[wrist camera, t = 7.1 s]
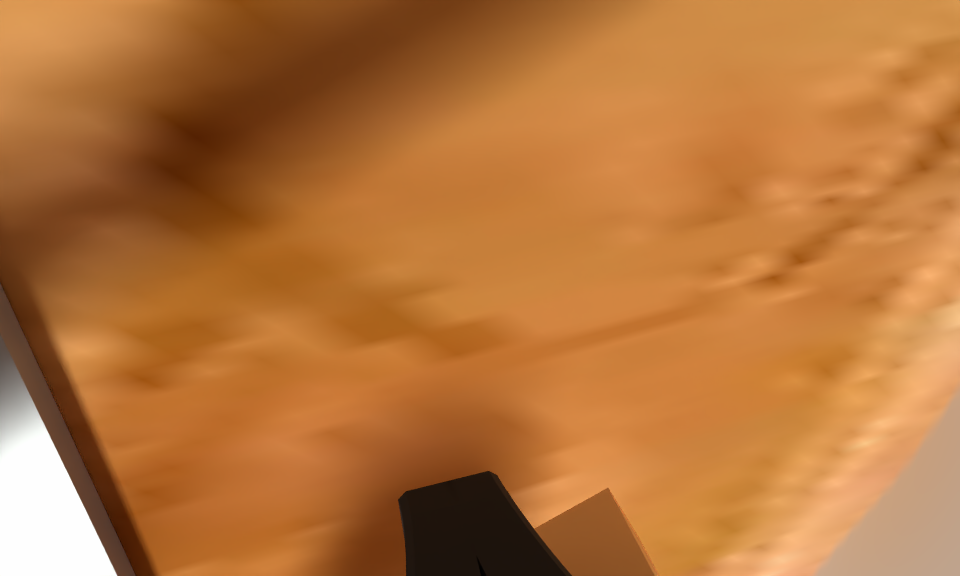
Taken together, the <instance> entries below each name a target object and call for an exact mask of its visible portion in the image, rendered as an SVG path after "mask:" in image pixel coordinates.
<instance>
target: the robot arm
mask: <svg viewBox="0 0 960 576" xmlns="http://www.w3.org/2000/svg"><path fill="white" fill-rule="evenodd" d="M398 502H399V508H400V514H401V520H402V526H403V532H404V538H405V548H406V576H572V575H571V574H570V573H569V571H568V570H567V569H566V568H565V567H564V566H563V565H562V563H561V562H560V561H559V560H558V558H557V557H556V556H555V555H554V554H553V552H552V551H551V550H550V549H549V547H548V546H547V545H546V544H545V542H544V541H543V540H542V538H541V537H540V536H539V535H538V533H537V532H536V531H535V530H534V528H533V527H532V526H531V524H530V523H529V522H528V520H527V519H526V518H525V516H524V515H523V514H522V512H521V511H520V509H519V508H518V507H517V505H516V504H515V502H514V501H513V499H512V498H511V496H510V495H509V493H508V492H507V490H506V489H505V487H504V486H503V484H502V483H501V481H500V479H499V478H498V476H497V475H495V474H494V473H492V472H490V471H487V472H483V473H479V474H475V475H471V476H466V477H462V478H458V479H454V480H450V481H446V482H442V483H438V484H434V485H430V486H426V487H422V488H418V489H414V490H410V491H406V492H405V493H404V494H403V495H402V496H401V497H400V498H399V499H398Z"/></svg>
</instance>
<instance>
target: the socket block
mask: <svg viewBox="0 0 960 576" xmlns="http://www.w3.org/2000/svg"><path fill="white" fill-rule="evenodd" d="M0 576H136V575H135V573H134V571H133V569H132V566H131V564H130V562H129V560H128V558H127V556H126V553H125V551H124V549H123V547H122V545H121V543H120V541H119V538H118V536H117V534H116V532H115V530H114V528H113V525H112V523H111V521H110V519H109V517H108V515H107V512H106V510H105V508H104V506H103V504H102V502H101V499H100V497H99V495H98V493H97V491H96V489H95V487H94V484H93V482H92V480H91V478H90V476H89V474H88V471H87V469H86V467H85V465H84V463H83V461H82V458H81V456H80V454H79V452H78V450H77V448H76V445H75V443H74V441H73V439H72V437H71V435H70V433H69V430H68V428H67V426H66V424H65V422H64V420H63V417H62V415H61V413H60V411H59V409H58V407H57V404H56V402H55V400H54V398H53V396H52V394H51V391H50V389H49V387H48V385H47V383H46V381H45V379H44V376H43V374H42V372H41V370H40V368H39V366H38V363H37V361H36V359H35V357H34V355H33V353H32V350H31V348H30V346H29V344H28V342H27V340H26V337H25V335H24V333H23V331H22V329H21V327H20V325H19V322H18V320H17V318H16V316H15V314H14V312H13V309H12V307H11V305H10V303H9V301H8V299H7V296H6V294H5V292H4V290H3V288H2V286H1V283H0Z"/></svg>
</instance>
